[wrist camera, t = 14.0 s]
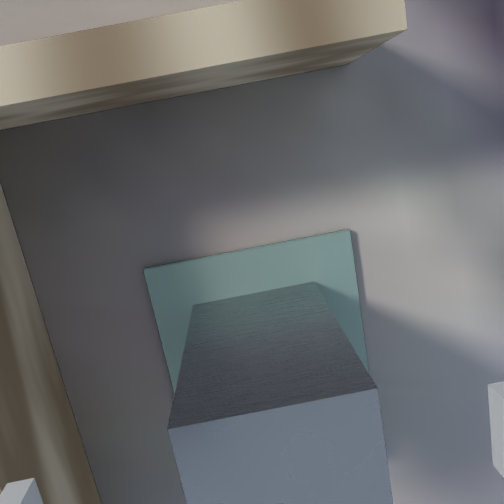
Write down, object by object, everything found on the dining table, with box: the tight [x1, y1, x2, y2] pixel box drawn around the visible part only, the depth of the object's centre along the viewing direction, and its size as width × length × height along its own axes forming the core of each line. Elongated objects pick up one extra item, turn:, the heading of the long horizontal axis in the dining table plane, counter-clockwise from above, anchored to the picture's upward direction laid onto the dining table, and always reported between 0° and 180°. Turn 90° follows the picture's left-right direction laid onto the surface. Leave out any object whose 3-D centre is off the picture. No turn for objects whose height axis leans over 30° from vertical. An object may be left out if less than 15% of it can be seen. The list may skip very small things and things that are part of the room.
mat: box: [143, 229, 369, 394], centre depth 24 cm, size 10×13×1 cm
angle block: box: [167, 281, 393, 504], centre depth 19 cm, size 9×6×10 cm, turn 11°
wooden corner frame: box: [0, 0, 407, 504], centre depth 20 cm, size 18×24×7 cm
